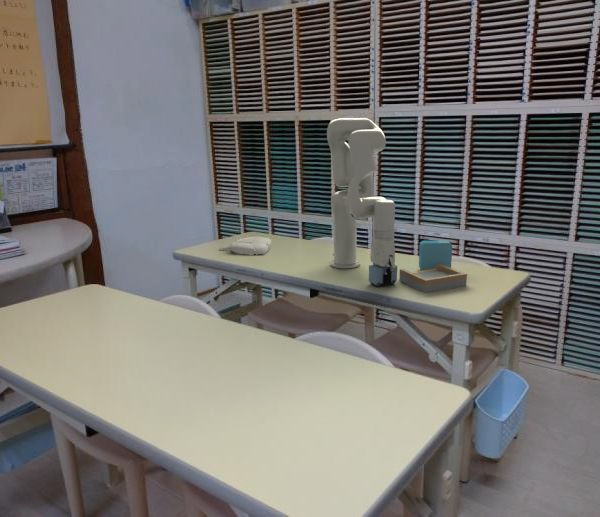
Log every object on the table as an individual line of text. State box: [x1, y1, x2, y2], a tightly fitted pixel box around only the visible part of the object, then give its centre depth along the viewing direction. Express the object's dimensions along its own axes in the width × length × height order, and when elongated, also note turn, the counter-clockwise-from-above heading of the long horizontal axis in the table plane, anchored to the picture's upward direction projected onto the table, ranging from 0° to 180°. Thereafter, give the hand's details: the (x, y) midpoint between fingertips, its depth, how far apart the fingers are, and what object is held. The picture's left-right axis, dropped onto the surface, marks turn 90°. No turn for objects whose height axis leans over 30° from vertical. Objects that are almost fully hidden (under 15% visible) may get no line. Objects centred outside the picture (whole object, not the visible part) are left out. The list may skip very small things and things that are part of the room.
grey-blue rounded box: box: [368, 264, 398, 288], centre depth 184 cm, size 6×9×7 cm, turn 113°
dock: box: [399, 263, 468, 294], centre depth 184 cm, size 16×18×4 cm
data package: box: [418, 240, 453, 271], centre depth 199 cm, size 12×4×12 cm, turn 85°
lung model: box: [218, 236, 272, 256], centre depth 240 cm, size 7×17×25 cm
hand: (382, 281), depth 184 cm, fingers open, 5 cm apart
